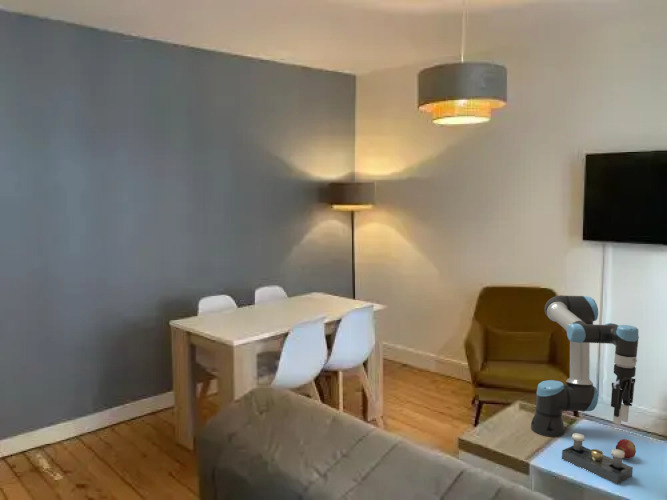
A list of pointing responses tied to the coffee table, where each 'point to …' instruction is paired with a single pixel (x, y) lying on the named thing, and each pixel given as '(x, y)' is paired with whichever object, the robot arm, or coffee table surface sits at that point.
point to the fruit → (626, 448)
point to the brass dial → (596, 455)
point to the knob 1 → (578, 441)
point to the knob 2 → (617, 457)
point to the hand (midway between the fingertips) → (620, 422)
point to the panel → (597, 465)
